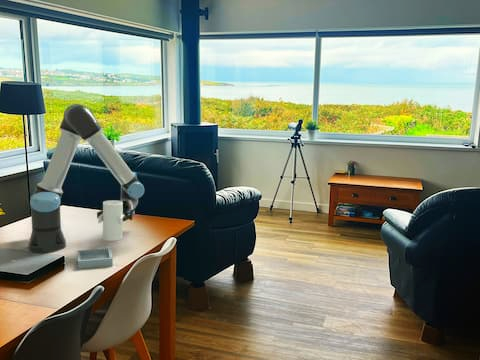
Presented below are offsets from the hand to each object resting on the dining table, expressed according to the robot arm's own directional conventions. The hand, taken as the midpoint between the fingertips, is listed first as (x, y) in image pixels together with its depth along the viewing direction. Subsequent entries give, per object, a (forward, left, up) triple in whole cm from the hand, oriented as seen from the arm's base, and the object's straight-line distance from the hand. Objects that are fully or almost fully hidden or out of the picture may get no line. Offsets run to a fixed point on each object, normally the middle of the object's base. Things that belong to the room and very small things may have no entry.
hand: (109, 220), depth 197 cm
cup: (+1, +4, -9) cm, 10 cm away
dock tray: (-7, -10, -14) cm, 18 cm away
